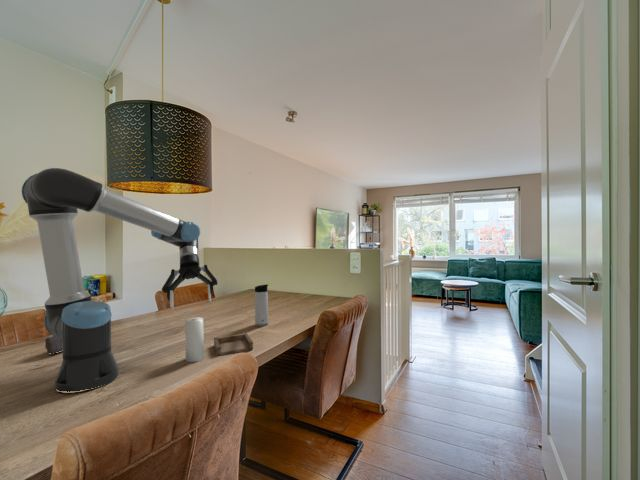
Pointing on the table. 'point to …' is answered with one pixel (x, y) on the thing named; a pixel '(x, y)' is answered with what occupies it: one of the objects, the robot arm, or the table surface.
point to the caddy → (232, 344)
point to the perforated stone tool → (53, 344)
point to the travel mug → (261, 305)
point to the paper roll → (194, 339)
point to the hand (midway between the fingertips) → (191, 303)
